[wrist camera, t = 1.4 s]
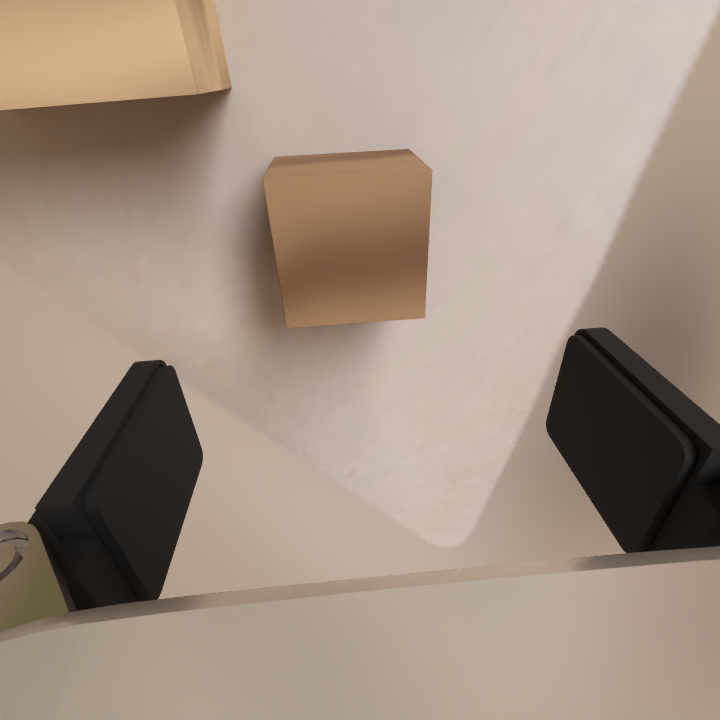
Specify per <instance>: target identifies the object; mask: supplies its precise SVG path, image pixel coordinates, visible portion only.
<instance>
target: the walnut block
mask: <svg viewBox="0 0 720 720" xmlns="http://www.w3.org/2000/svg"><path fill="white" fill-rule="evenodd" d="M263 183H264V190H265V196H266V202H267V208H268V215H269V221H270V227H271V233H272V239H273V246H274V252H275V258H276V264H277V270H278V277H279V283H280V289H281V295H282V301H283V308H284V314H285V320H286V326H287V328H299V327H312V326H325V325H338V324H352V323H365V322H378V321H392V320H405V319H418V318H425V302H426V283H427V263H428V244H429V225H430V205H431V186H432V169H431V168H430V167H428V166H427V165H426V164H425V163H424V162H423V161H422V160H420V159H419V158H418V157H417V156H416V155H415V154H414V153H412V152H411V151H410V150H409V149H402V150H385V151H368V152H350V153H333V154H316V155H299V156H282V157H275V158H274V160H273V162H272V164H271V166H270V168H269V170H268V171H267V173H266V175H265V177H264V179H263Z"/></svg>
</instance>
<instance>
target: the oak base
mask: <svg viewBox="0 0 720 720" xmlns="http://www.w3.org/2000/svg"><path fill="white" fill-rule="evenodd" d="M229 88H232V87H231V82H230V77H229V72H228V67H227V62H226V57H225V52H224V47H223V42H222V37H221V32H220V27H219V22H218V17H217V12H216V7H215V3H214V0H0V110H10V109H23V108H35V107H47V106H59V105H72V104H84V103H96V102H109V101H121V100H133V99H146V98H158V97H170V96H182V95H195V94H202V93H207V92H213V91H218V90H224V89H229Z"/></svg>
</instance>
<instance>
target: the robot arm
mask: <svg viewBox="0 0 720 720" xmlns="http://www.w3.org/2000/svg"><path fill="white" fill-rule="evenodd" d="M546 428H547V432H548V434H549V436H550V438H551V439H552V441H553V442H554V444H555V446H556V447H557V449H558V450H559V452H560V453H561V455H562V456H563V458H564V459H565V461H566V462H567V464H568V466H569V467H570V469H571V470H572V472H573V473H574V475H575V476H576V478H577V480H578V481H579V483H580V484H581V486H582V487H583V489H584V490H585V492H586V494H587V495H588V497H589V498H590V499H591V501H592V503H593V504H594V505H595V507H596V509H597V511H598V512H599V514H600V515H601V517H602V518H603V520H604V521H605V523H606V524H607V526H608V527H609V529H610V531H611V532H612V534H613V535H614V537H615V538H616V540H617V541H618V543H619V545H620V546H621V548H622V549H623V550H624V551H625V552H626V554H615V555H604V556H593V557H582V558H571V559H559V560H548V561H538V562H527V563H515V564H506V565H505V564H504V565H494V566H483V567H473V568H462V569H453V570H441V571H430V572H420V573H410V574H399V575H389V576H379V577H368V578H358V579H348V580H338V581H328V582H319V583H308V584H298V585H288V586H278V587H269V588H258V589H250V590H238V591H229V592H219V593H209V594H201V595H192V596H184V597H175V598H167V599H159V600H157V599H158V598H159V596H160V594H161V591H162V588H163V585H164V582H165V579H166V575H167V572H168V569H169V566H170V562H171V560H172V557H173V553H174V550H175V547H176V544H177V541H178V538H179V535H180V531H181V528H182V525H183V522H184V519H185V516H186V513H187V509H188V506H189V503H190V500H191V497H192V494H193V490H194V488H195V484H196V481H197V478H198V475H199V472H200V469H201V466H202V461H203V453H202V448H201V445H200V442H199V439H198V436H197V433H196V430H195V427H194V424H193V421H192V418H191V416H190V413H189V410H188V407H187V404H186V401H185V398H184V395H183V392H182V389H181V386H180V383H179V380H178V377H177V374H176V371H175V369H174V368H173V366H171V365H170V366H167V365H166V363H165V362H164V361H162V360H154V361H141V362H135V363H134V364H133V365H132V366H131V368H130V369H129V371H128V372H127V373H126V375H125V376H124V378H123V379H122V381H121V382H120V384H119V385H118V387H117V388H116V390H115V391H114V392H113V394H112V395H111V397H110V398H109V400H108V401H107V403H106V404H105V406H104V407H103V409H102V410H101V411H100V413H99V414H98V416H97V418H96V419H95V420H94V422H93V423H92V425H91V426H90V428H89V429H88V431H87V432H86V434H85V435H84V436H83V438H82V439H81V441H80V443H79V444H78V445H77V447H76V448H75V450H74V451H73V453H72V454H71V456H70V457H69V459H68V460H67V462H66V463H65V465H64V466H63V467H62V469H61V470H60V472H59V473H58V475H57V476H56V478H55V479H54V481H53V482H52V483H51V485H50V486H49V488H48V489H47V491H46V492H45V494H44V495H43V497H42V498H41V500H40V501H39V503H38V504H37V506H36V507H35V509H36V511H35V513H34V514H33V515H32V517H31V519H30V520H29V522H28V523H25V522H9V523H5V524H1V525H0V720H720V424H718V423H717V422H716V421H715V420H714V419H713V418H711V417H710V416H709V415H708V414H707V413H706V412H704V411H703V410H702V409H701V408H700V407H699V406H697V405H696V404H695V403H694V402H693V401H692V400H690V399H689V398H688V397H687V396H686V395H685V394H683V393H682V392H681V391H680V390H679V389H677V388H676V387H675V386H674V385H673V384H672V383H670V382H669V381H668V380H667V379H666V378H665V377H663V376H662V375H661V374H660V373H659V372H658V371H656V370H655V369H654V368H653V367H652V366H651V365H649V364H648V363H647V362H646V361H645V360H643V359H642V358H641V357H640V356H639V355H638V354H636V353H635V352H634V351H633V350H632V349H631V348H629V347H628V346H627V345H626V344H625V343H623V341H621V340H620V339H619V338H618V337H617V336H615V335H614V334H613V333H612V332H611V331H609V330H608V329H607V328H590V329H580V330H578V331H577V332H576V333H575V334H574V336H571V337H570V338H569V339H568V341H567V344H566V348H565V352H564V356H563V360H562V363H561V367H560V371H559V375H558V378H557V383H556V386H555V390H554V394H553V397H552V401H551V405H550V409H549V413H548V416H547V420H546Z"/></svg>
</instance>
